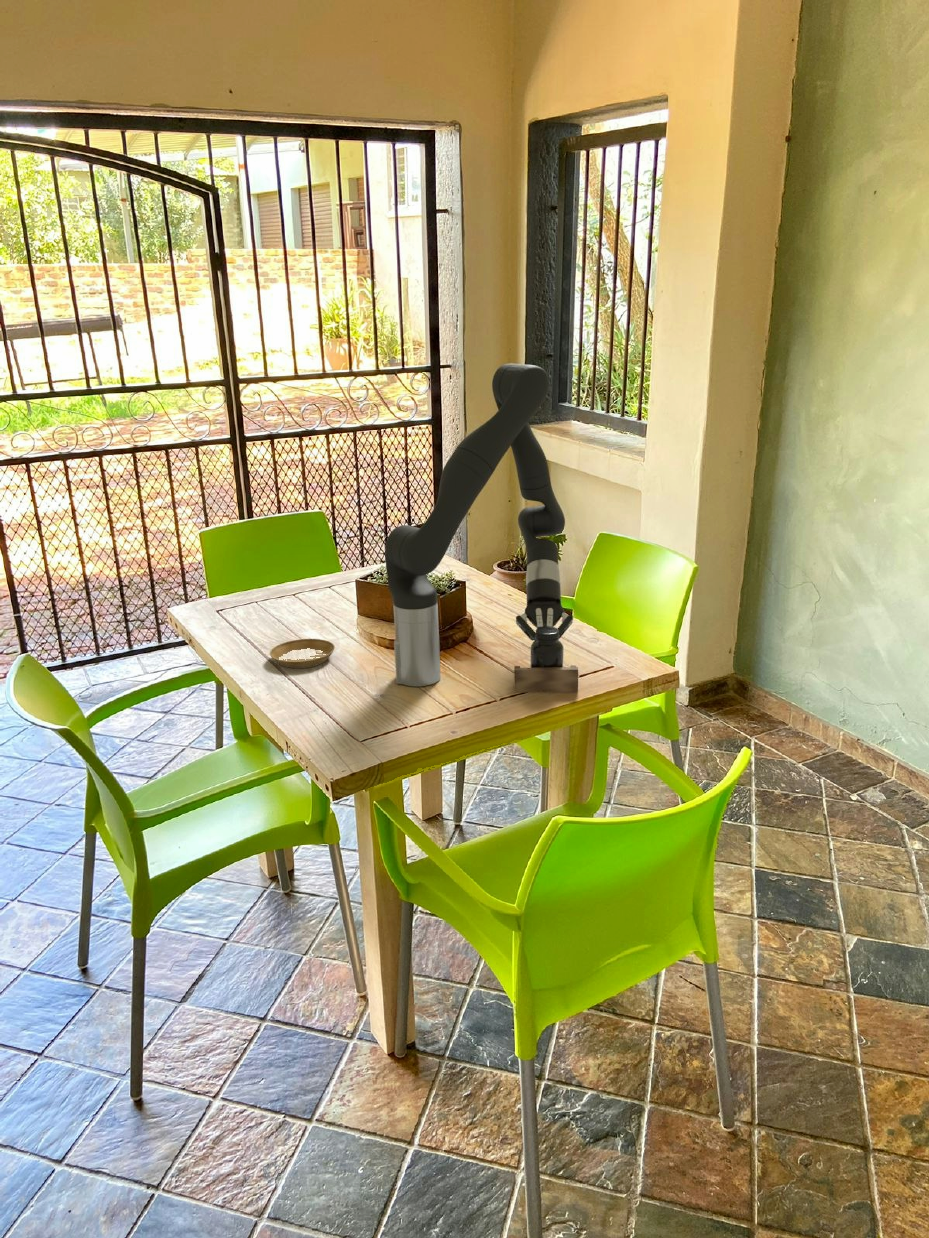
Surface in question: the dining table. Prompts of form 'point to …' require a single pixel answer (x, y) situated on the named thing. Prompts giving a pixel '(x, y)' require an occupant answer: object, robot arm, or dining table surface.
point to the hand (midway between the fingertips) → (545, 657)
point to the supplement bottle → (546, 648)
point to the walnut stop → (546, 679)
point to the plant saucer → (298, 645)
